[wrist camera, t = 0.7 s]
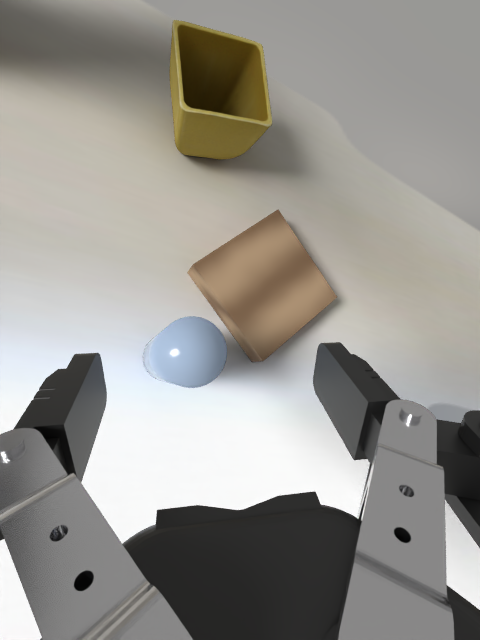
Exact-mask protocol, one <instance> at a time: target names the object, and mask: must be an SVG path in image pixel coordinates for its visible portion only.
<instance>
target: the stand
mask: <svg viewBox="0 0 480 640" xmlns="http://www.w3.org/2000/svg"><path fill="white" fill-rule="evenodd" d="M187 273H188V274H189V275H190V277H191V278H192V280H193V281H194V282H195V284H196V285H197V287H198V288H199V289H200V291H201V292H202V294H203V295H204V296H205V298H206V299H207V300H208V302H209V303H210V305H211V306H212V307H213V309H214V310H215V312H216V313H217V314H218V316H219V317H220V318H221V320H222V321H223V323H224V324H225V325H226V327H227V328H228V330H229V331H230V332H231V334H232V335H233V336H234V338H235V339H236V341H237V342H238V343H239V345H240V346H241V348H242V349H243V350H244V352H245V353H246V355H247V356H248V357H249V359H250V360H251V361H252V362H259V361H264V360H265V359H266V358H267V357H269V356H270V355H271V354H272V353H273V352H274V351H276V350H277V349H278V348H279V347H280V346H281V345H282V344H284V343H285V342H286V341H287V340H288V339H289V338H291V337H292V336H293V335H294V334H295V333H296V332H297V331H299V330H300V329H301V328H302V327H303V326H304V325H306V324H307V323H308V322H309V321H310V320H311V319H313V318H314V317H315V316H316V315H317V314H318V313H319V312H321V311H322V310H323V309H324V308H325V307H326V306H328V305H329V304H330V303H331V302H332V301H333V300H335V299H336V298H337V296H336V295H335V293H334V292H333V290H332V289H331V287H330V286H329V284H328V283H327V281H326V280H325V278H324V277H323V275H322V274H321V272H320V271H319V269H318V268H317V266H316V265H315V263H314V262H313V260H312V259H311V258H310V256H309V255H308V253H307V252H306V250H305V249H304V247H303V246H302V244H301V243H300V241H299V240H298V238H297V237H296V235H295V234H294V232H293V231H292V229H291V228H290V226H289V225H288V223H287V222H286V220H285V219H284V217H283V216H282V214H281V213H280V211H279V210H276V211H275V212H273V213H272V214H270V215H269V216H267V217H266V218H264V219H263V220H261V221H259V222H258V223H256V224H255V225H253V226H252V227H250V228H249V229H247V230H246V231H244V232H242V233H241V234H239V235H238V236H236V237H235V238H233V239H232V240H230V241H229V242H227V243H225V244H224V245H222V246H221V247H219V248H218V249H216V250H215V251H213V252H212V253H210V254H209V255H207V256H205V257H204V258H202V259H201V260H199V261H198V262H196V263H195V264H193V265H192V267H191V268H190V270H189V271H188V272H187Z"/></svg>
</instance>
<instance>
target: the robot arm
mask: <svg viewBox="0 0 480 640" xmlns="http://www.w3.org/2000/svg"><path fill="white" fill-rule="evenodd" d="M313 385H314V390H315V393H316V395H317V396H318V398H319V400H320V402H321V403H322V405H323V407H324V409H325V410H326V412H327V414H328V416H329V417H330V419H331V421H332V423H333V424H334V426H335V428H336V430H337V431H338V433H339V435H340V437H341V438H342V440H343V442H344V444H345V445H346V447H347V449H348V451H349V452H350V454H351V456H352V458H353V459H354V460H360V459H368V460H369V462H370V466H369V469H368V473H367V477H366V482H365V486H364V490H363V495H362V499H361V503H360V507H359V512H358V516H357V518H356V517H354V516H353V515H351V514H349V513H346V512H344V511H342V510H339V509H336V508H334V507H330V506H326V505H321V504H320V502H319V499H318V497H317V494H316V492H307V493H299V494H290V495H281V496H277V497H274V498H272V499H269V500H267V501H264V502H262V503H259V504H256V505H254V506H251V507H249V508H246V509H243V510H231V509H224V508H216V507H208V506H200V505H196V506H187V507H179V508H170V509H162V510H157V517H156V524H155V525H153V526H150V527H148V528H146V529H144V530H142V531H140V532H138V533H137V534H135V535H134V536H132V537H131V538H129V539H128V540H127V541H125V542H124V543H123V544H122V543H121V542H120V540H119V539H118V537H117V536H116V534H115V533H114V531H113V530H112V528H111V527H110V525H109V524H108V522H107V521H106V519H105V518H104V516H103V515H102V513H101V512H100V510H99V509H98V508H97V506H96V505H95V503H94V502H93V500H92V499H91V497H90V496H89V494H88V493H87V491H86V490H85V488H84V487H83V485H82V484H81V481H82V478H83V475H84V472H85V469H86V466H87V463H88V460H89V457H90V454H91V450H92V447H93V444H94V441H95V438H96V435H97V432H98V429H99V426H100V423H101V419H102V416H103V413H104V410H105V407H106V399H107V392H106V385H105V379H104V373H103V367H102V361H101V357H100V354H99V353H87V354H75V355H74V356H73V358H72V360H71V361H70V363H69V365H68V367H67V368H66V369H58V370H57V371H55V372H54V373H53V374H51V375H50V376H49V377H47V378H46V379H45V381H44V382H43V384H42V386H41V387H40V389H39V391H38V392H37V393H36V395H35V396H34V400H32V401H31V403H30V404H29V406H28V407H27V409H26V411H25V412H24V414H23V415H22V417H21V418H20V420H19V421H18V423H17V425H16V426H15V428H14V429H13V430H11V431H8V432H5V433H3V434H1V435H0V540H2V539H5V541H6V544H7V546H8V549H9V552H10V554H11V557H12V560H13V562H14V565H15V567H16V570H17V573H18V575H19V578H20V581H21V583H22V586H23V588H24V591H25V594H26V596H27V599H28V602H29V604H30V607H31V609H32V612H33V615H34V617H35V620H36V623H37V625H38V628H39V630H40V633H41V636H42V638H41V639H40V640H480V610H479V609H478V608H476V607H475V606H474V605H472V604H471V603H470V602H468V601H467V600H466V599H464V598H463V597H462V596H460V595H459V594H458V593H456V592H455V591H454V590H452V589H451V588H450V587H449V586H447V585H446V540H445V500H446V501H447V503H448V504H449V505H450V507H451V508H452V510H453V511H454V512H455V514H456V515H457V517H458V518H459V519H460V521H461V522H462V524H463V525H464V527H465V528H466V529H467V531H468V532H469V534H470V535H471V536H472V538H473V539H474V541H475V542H476V543H477V545H478V546H479V548H480V411H469V412H467V413H466V414H465V415H464V418H463V420H462V422H461V423H455V422H449V421H442V420H436V418H435V416H434V415H433V414H432V413H431V412H430V411H429V410H428V409H426V408H425V407H423V406H422V405H420V404H417V403H415V402H412V401H408V400H401V399H400V398H399V397H398V396H397V395H396V394H395V393H394V391H393V390H392V389H391V388H390V387H389V386H388V385H387V384H386V383H385V382H384V381H383V379H382V378H380V376H379V375H378V374H377V373H376V372H375V371H373V368H372V367H371V366H370V365H369V364H368V363H367V362H366V361H365V360H363V359H361V358H360V357H358V356H356V355H355V354H350V353H349V351H348V350H347V349H346V348H345V347H344V346H343V345H342V344H341V343H340V342H336V343H321V344H319V346H318V350H317V357H316V363H315V370H314V376H313Z"/></svg>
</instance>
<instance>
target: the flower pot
mask: <svg viewBox="0 0 480 640" xmlns="http://www.w3.org/2000/svg"><path fill="white" fill-rule="evenodd" d="M170 89H171V98H172V109H173V120H174V135H175V144H176V147H177V149H178V150H179V151H180V152H181V153H182V154H184V155H190V156H198V157H206V158H213V159H220V160H222V159H230V158H234V157H237V156H240V155H242V154H243V153H245V152H246V151H247V150H248V149H250V148H251V146H252V145H253V144H254V143H255V142H256V141H257V140H258V139H259V138H260V137H261V136H262V135H263V134H264V133H265V131H266V130H267V129H268V128H269V127H270V126H271V125H272V115H271V108H270V100H269V93H268V85H267V76H266V68H265V59H264V52H263V46H262V45H261V44H260V43H257V42H255V41H252V40H249V39H246V38H242V37H239V36H235V35H232V34H228V33H224V32H221V31H216V30H213V29H210V28H206V27H202V26H199V25H196V24H192V23H188V22H184V21H178V20H174V21H173V25H172V42H171V57H170Z"/></svg>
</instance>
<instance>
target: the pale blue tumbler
mask: <svg viewBox="0 0 480 640" xmlns="http://www.w3.org/2000/svg"><path fill="white" fill-rule="evenodd" d="M226 358H227V346H226V342H225V339H224V337H223V335H222V333H221V331H220V330H219V329H218V328H217V327H216V326H215V325H214V324H213V323H211V322H210V321H208V320H206V319H204V318H200V317H194V316H193V317H184V318H180V319H178V320H176V321H174V322H173V323H171V324H170V325H169V326H168V327H166V328H165V329H164V330H163V331H161V332H160V333H159V334H158V335H156V336H155V337H154V338H153V339H152V340H150V341H149V343H148V344H147V345H146V347H145V349H144V353H143V363H144V367H145V369H146V370H147V372H148V373H149V374H150V375H151V376H152V377H154V378H155V379H157V380H160V381H164V382H168V383H171V384H175V385H179V386H183V387H188V388H195V387H201V386H204V385H206V384H208V383H210V382H212V381H213V380H214V379H215V378H216V377H217V376H218V375H219V374H220V373H221V371H222V369H223V367H224V365H225V362H226Z"/></svg>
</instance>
